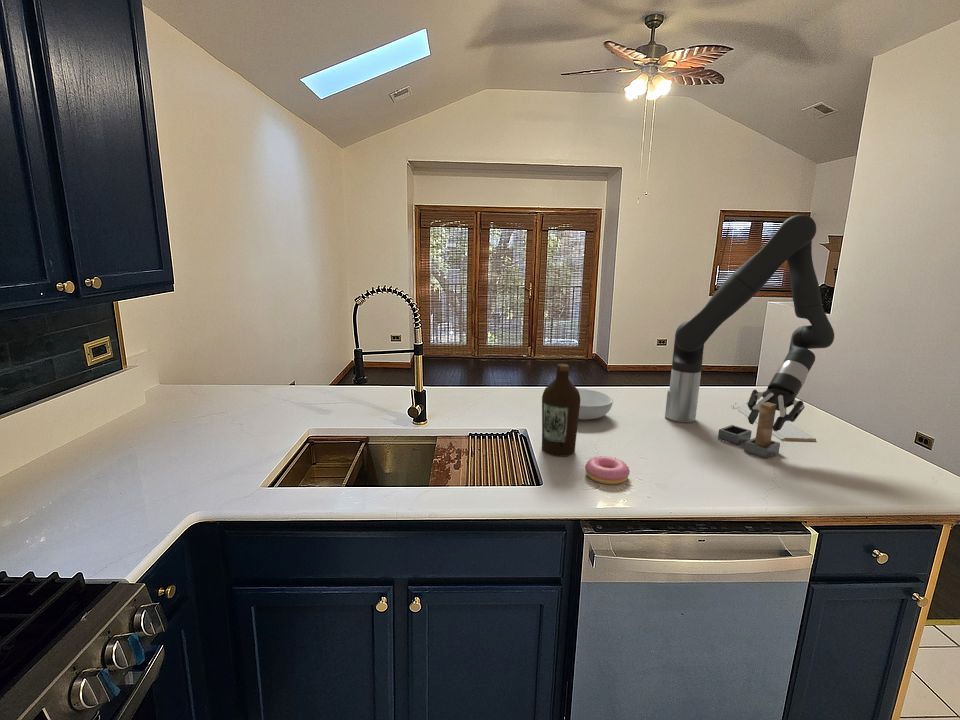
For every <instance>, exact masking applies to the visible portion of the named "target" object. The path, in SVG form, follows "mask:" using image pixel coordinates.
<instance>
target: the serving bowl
mask: <svg viewBox="0 0 960 720" xmlns="http://www.w3.org/2000/svg"><path fill="white" fill-rule="evenodd" d="M576 388H577V387H576ZM577 390H578V391H579V394H580V409H579V417H578V420H585V421H586V420H593V419H600V418H602V417H604V416H605V415H607V414H608V413H609V412H610V411H611V409H612V406H613V403H614V399H613V397H611V396H610V395H608V394H606V393H604V392H602V391H601V392H600V391H597V390H595V389H593V390H592V389H586V388H577Z"/></svg>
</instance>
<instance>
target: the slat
mask: <svg viewBox="0 0 960 720" xmlns="http://www.w3.org/2000/svg"><path fill="white" fill-rule="evenodd" d="M776 405H777V404H773V403H769V402H766V403H763V404H761V406H760V413H759V420H758V424H757V426H756V433H755V434H756V435H755V438H756V439H755V444H757V445H760V446H763V447H767V446H770V443H771V440H772V435H773V434H772V430H773V424H774V418H775V414H776V411H777V410H776Z"/></svg>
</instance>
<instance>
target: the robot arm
mask: <svg viewBox="0 0 960 720" xmlns="http://www.w3.org/2000/svg"><path fill="white" fill-rule="evenodd" d="M816 233H817V224H816V222H815V220H814V219H813V218H812V217H810V216H809V215H807V214H806V215H805V214H796V215H792V216H790V217H789V218H787V219H785V220H784V221H783V223H781V225H780V227H779V228H778V229H777V230H776V232H775V233H774V234H773V235H772V236H771V238H770V239H769V240H768V242H766V244H765V245H763V247H762V248H761V249H760V250H759V251H757V252H756V253H755V254H754V255H752V256H751V257H750V258H749V259H747V260H746V261H745V262H743V264H741V265H740V266H739V267H738V268H737V269H736V270H735V271H734V272H732V273H731V275H729V276H728V278H726V280H725V281H723V283H721V285H720V286H719V287H718V288H717V290H716V291H715V292H714V293H713V295H712V296H711V297H710V299H709V300H708V302H707V303H706V304H705V306H703V308H702V309H701V310H700V311H699V312H698V313H697V314H695V315H694V316H693V317H692V318H691V319H690V320H689V321H685V322H681V323H680V325H679V326H677V329H676V331H675V333H674V343H673V354H672V360H671V370H670V371H671V373H670V381H669V390H667V392H666V402H665V412H664V418H666V419H668V420H670V421H673V422H679V423H686V424H687V423H688V424H689V423H694V422H696V419H697V418H696V417H697V411H698V410H697V409H698V401H699V393H700V384H701V375H702V368H703V360H704V359H703V358H704V357H703V356H704V347H705V344H706V342H707V341H708V340H709V338H710V337H711V336H712V335H713V334H714V332H716V330H717V329H718V328H719V327H720V326H721V325H723V323H725V321H727V320H728V319H729V318H731V316H733V315H734V314H736V312H738V311H739V310H740V309H741V308H742V307H743V306H744V305H745V304H747V303H748V302H749V301H750V300H751V299H752V298H753V297H755V296H756V295H757V294H758V293H759V291H760V290H761V289H763V287H764V286H765V285H766V284H767V282H768V281H769V280H770V279H771V277H773V276H774V274H775V273H776V272H777V271H778V270H779V268H780V267H781V266H782V265H784V263H785V262H786V261H787V265H788V271H789V276H790V277H789V278H790V288H791V295H792V302H793V308H794V314H795V316H796V317H797V318H799V319H804V320H808V321H809V323H810V324H809V325H802V326H799V327H797V328H796V329H795V330H793V332H792V334H791V337H790V343H789V349H788V353H787V354H786V356H785V358H784V360H783V362H782V363H781V364H780V365H779V366H778V369H777V370H776V372H775V373H774V375H773V377H772V379H771V380H770V382H769V383H768V386H767V388H766V389H765V390H764V391H762V392H761V391H758V390H757V389H753V390H752V391H751V394H750V397H749V399H748V401H747V403H746V405H747V406H748V407H749V409H750V410H751V413H750V415H749V416H748V417H747V420H748V423H749V424H750V425H754V423H755V420H756V418H757V417H758V414H759V413H760V406H761V404H763V403H766V402H769V403H773V404H777V405H776V411H778V412H779V416H780V417H778V418H777V420H776V422H775V423H774V425H773V430H774V431H776V432H777V431H778V430H780V429H781V428H782V426H783V424H784V422H786V421H788V422H790V423H792V422H793V423H794V422H795V421H796V420H797V418H799V416H800V414H801V413H802V412H803V410H804V409H805V404H804V402H803V401H804V400H795V399H796V398H797V396H798V394H799V393H800V390H801V389H802V387H803V385H804V384H805V382H806V381H807V377H808V375H809V372H810V371H811V369H812V367H813V365H814V363H815V361H816V354H815V353H814V352H813V351H811V350H810V349H826V348H829V347H830V346H831V345H832V344H833V343H834V340H835V331H834V328H833V326H832V324H831V322H830V321H829V318H828V316H827V314H826V312H825V310H824V307H823V300H822V295H821V294H822V293H821V290H820V286H819V282H818V278H817V274H816V270H815V267H814V262H813V255H812V249H813V248H812V247H813V239H814V238H815V236H816ZM761 398H762V399H761ZM760 399H761V400H760ZM758 400H759V401H758ZM757 402H758V403H757ZM791 406H793V408H792V409H791V410H790V411H789V413H788V412H787V408H789V407H791Z"/></svg>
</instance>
